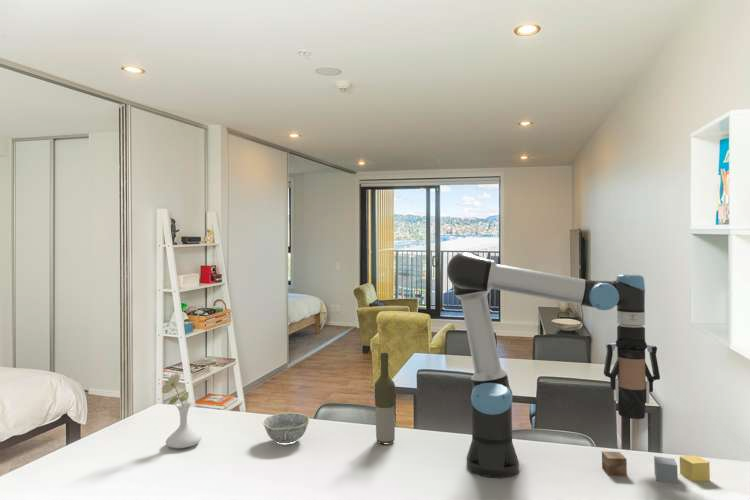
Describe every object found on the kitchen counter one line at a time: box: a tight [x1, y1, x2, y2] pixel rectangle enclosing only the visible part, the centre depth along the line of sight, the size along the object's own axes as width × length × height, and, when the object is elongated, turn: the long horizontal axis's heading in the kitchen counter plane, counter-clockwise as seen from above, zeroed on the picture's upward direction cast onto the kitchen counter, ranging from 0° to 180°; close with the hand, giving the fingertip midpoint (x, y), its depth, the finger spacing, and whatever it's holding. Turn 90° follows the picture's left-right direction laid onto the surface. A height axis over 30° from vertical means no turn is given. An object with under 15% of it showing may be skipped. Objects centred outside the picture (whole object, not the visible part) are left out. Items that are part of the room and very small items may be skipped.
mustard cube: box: [679, 455, 711, 482], centre depth 138 cm, size 5×5×5 cm
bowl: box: [262, 412, 311, 443], centre depth 169 cm, size 16×16×8 cm
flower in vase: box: [161, 372, 202, 449], centre depth 166 cm, size 13×11×25 cm
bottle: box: [374, 352, 396, 444], centre depth 168 cm, size 7×7×30 cm
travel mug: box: [616, 347, 647, 420], centre depth 148 cm, size 8×8×20 cm
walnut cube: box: [601, 450, 628, 477], centre depth 142 cm, size 5×5×5 cm
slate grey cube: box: [653, 455, 679, 485], centre depth 137 cm, size 5×5×5 cm
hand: (631, 401), depth 148 cm, fingers closed on travel mug, 8 cm apart
